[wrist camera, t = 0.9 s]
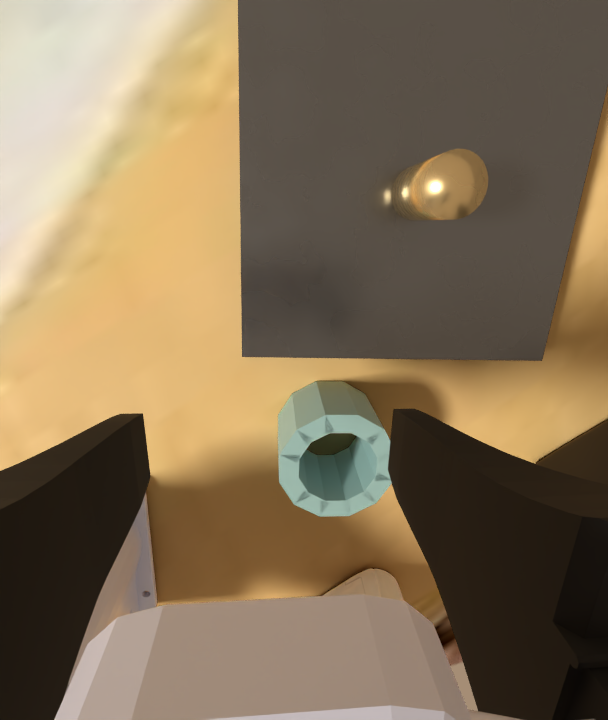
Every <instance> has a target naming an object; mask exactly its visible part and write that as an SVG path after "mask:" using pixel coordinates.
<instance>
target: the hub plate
mask: <svg viewBox="0 0 608 720" xmlns="http://www.w3.org/2000/svg"><path fill="white" fill-rule="evenodd" d="M238 39H239V126H240V213H241V299H242V357H293V358H372V359H451V360H529V361H542V359H543V355H544V350H545V346H546V342H547V338H548V334H549V329H550V325H551V321H552V317H553V313H554V308H555V304H556V300H557V296H558V292H559V287H560V283H561V279H562V275H563V271H564V267H565V262H566V258H567V254H568V250H569V246H570V241H571V237H572V233H573V229H574V225H575V220H576V216H577V212H578V208H579V204H580V199H581V195H582V191H583V187H584V183H585V178H586V174H587V170H588V166H589V162H590V158H591V153H592V149H593V145H594V141H595V137H596V132H597V128H598V124H599V120H600V116H601V111H602V107H603V103H604V99H605V95H606V90H607V86H608V0H238Z"/></svg>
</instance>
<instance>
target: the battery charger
mask: <svg viewBox="0 0 608 720" xmlns="http://www.w3.org/2000/svg"><path fill="white" fill-rule="evenodd" d="M536 464H537V465H539V466H542V467H545V468H549V469H552V470H555V471H558V472H562V473H565V474H568V475H572V476H575V477H579V478H582V479H586V480H590V481H594V482H598V483H602V484H606V485H608V420H607V421H605V422H603V423H601V424H600V425H598V426H596V427H594V428H593V429H591V430H589V431H587V432H586V433H584V434H582V435H580V436H579V437H577V438H575V439H574V440H572V441H570V442H569V443H567V444H566V445H564V446H562V447H561V448H559V449H557V450H556V451H554V452H553V453H551V454H550V455H548V456H546V457H545V458H543V459H542V460H540V461H539V462H537V463H536Z"/></svg>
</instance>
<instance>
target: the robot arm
mask: <svg viewBox="0 0 608 720" xmlns="http://www.w3.org/2000/svg"><path fill="white" fill-rule="evenodd" d="M388 472H389V475H390V479H391V482H392V485H393V488H394V491H395V495H396V498H397V500H398V502H399V504H400V506H401V509H402V511H403V513H404V515H405V517H406V519H407V521H408V523H409V525H410V527H411V530H412V532H413V534H414V536H415V538H416V540H417V542H418V544H419V546H420V548H421V550H422V552H423V554H424V556H425V558H426V561H427V563H428V565H429V567H430V569H431V572H432V574H433V576H434V579H435V581H436V584H437V587H438V590H439V592H440V595H441V598H442V601H443V604H444V606H445V609H446V612H447V615H448V618H449V621H450V624H451V627H452V630H453V633H454V636H455V639H456V641H457V644H458V647H459V650H460V653H461V656H462V660H463V663H464V666H465V669H466V672H467V676H468V679H469V682H470V685H471V689H472V692H473V695H474V698H475V702H476V705H477V708H478V711H474V710H468V709H467V706H466V704H465V701H464V699H463V697H462V694H461V691H460V689H459V686H458V684H457V682H456V679H455V677H454V674H453V672H452V669H451V667H450V664H449V662H448V659H447V657H446V654H445V652H444V649H443V647H442V644H441V642H440V640H439V637H438V635H437V632H436V630H435V627H434V625H433V623H432V622H431V621H430V620H428V619H427V618H426V617H425V616H423V615H422V614H421V613H419V612H418V611H417V610H416V609H414V608H413V607H412V606H411V605H409V604H408V603H407V602H406V601H402V600H397V599H391V598H384V597H378V596H372V595H365V594H348V595H329V596H311V597H292V598H273V599H255V600H236V601H217V602H199V603H180V604H166V605H162V606H158V607H156V605H157V593H156V584H155V574H154V564H153V554H152V545H151V535H150V525H149V516H148V506H147V496H146V489H147V486H148V483H149V479H150V469H149V460H148V452H147V444H146V436H145V427H144V419H143V414H119V415H116V416H114V417H111V418H109V419H107V420H105V421H103V422H101V423H99V424H97V425H95V426H93V427H91V428H89V429H87V430H85V431H84V432H82V433H80V434H78V435H76V436H74V437H72V438H70V439H68V440H66V441H64V442H63V443H61V444H58V445H56V446H54V447H52V448H50V449H48V450H46V451H44V452H42V453H40V454H38V455H36V456H34V457H31V458H29V459H27V460H25V461H23V462H21V463H18V464H16V465H14V466H11V467H9V468H7V469H4V470H2V471H0V720H608V485H606V484H602V483H598V482H594V481H590V480H586V479H582V478H579V477H575V476H572V475H568V474H565V473H562V472H558V471H555V470H552V469H549V468H545V467H542V466H539V465H537V464H534V463H531V462H528V461H526V460H523V459H520V458H518V457H515V456H512V455H510V454H508V453H505V452H503V451H500V450H498V449H496V448H494V447H492V446H489V445H487V444H485V443H483V442H481V441H478V440H476V439H474V438H472V437H470V436H468V435H466V434H464V433H462V432H460V431H458V430H457V429H455V428H453V427H451V426H449V425H447V424H445V423H443V422H441V421H439V420H437V419H436V418H434V417H432V416H430V415H428V414H426V413H423V412H421V411H419V410H416V409H394V410H393V420H392V430H391V441H390V451H389V461H388ZM146 591H149V592H146Z"/></svg>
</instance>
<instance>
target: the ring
mask: <svg viewBox="0 0 608 720" xmlns="http://www.w3.org/2000/svg"><path fill="white" fill-rule="evenodd" d="M329 433H352V434H354V435H356V436H357V437H356V438H355V439H354V441H353V442H352V443H351V445H350V446H349V447H348V448H346V449H344V450H342V451H340V452H338V453H336V454H334V455H316V454H314V453H312V452H310V451H308V450H306V449H307V448H308V446H309V445H310V443H311V442H313V441H315V440H317V439H319V438H321V437H323V436H325V435H327V434H329ZM389 451H390V439H389V437H388V435H387V433H386V431H385V429H384V428H383V426H382V424H381V422H380V420H379V418H378V417H377V415H376V413H375V411H374V409H373V407H372V406H371V404H370V402H369V400H368V398H367V396H366V395H365V394H364V393H363V392H361V391H359V390H357V389H356V388H354V387H352V386H350V385H349V384H347V383H345V382H344V381H316V382H314V383H312V384H310V385H308V386H306V387H304V388H302V389H300V390H298V391H296V392H294V393H292V395H291V396H290V398H289V399H288V401H287V402H286V404H285V405H284V407H283V408H282V410H281V411H280V413H279V414H278V462H279V483H280V484H281V486H282V487H283V489H284V490H285V492H286V493H287V495H288V496H289V498H290V499H291V501H292V502H293V504H294V505H296V506H298V507H300V508H302V509H304V510H307V511H309V512H311V513H313V514H315V515H317V516H319V517H325V516H350V515H352V514H355V513H357V512H359V511H361V510H363V509H365V508H367V507H369V506H371V505H373V504H375V503H377V501H378V500H379V499H380V498H381V496H382V495H383V494H384V492H385V491H386V490H387V489H388V487H389V486H390V485H391V484H392V482H391V479H390V475H389V472H388V461H389Z"/></svg>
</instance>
